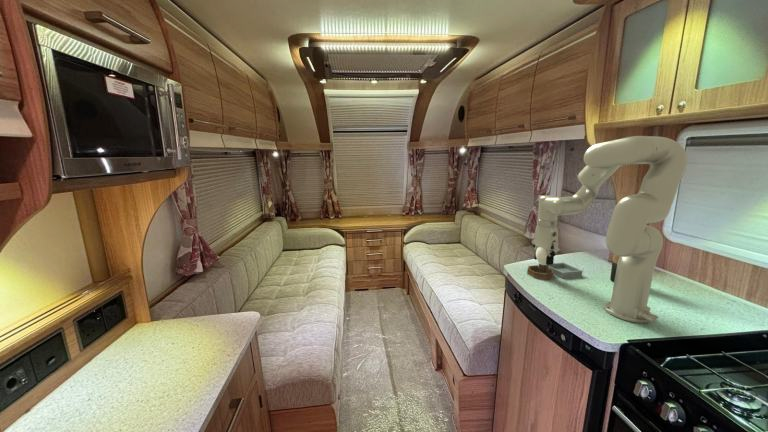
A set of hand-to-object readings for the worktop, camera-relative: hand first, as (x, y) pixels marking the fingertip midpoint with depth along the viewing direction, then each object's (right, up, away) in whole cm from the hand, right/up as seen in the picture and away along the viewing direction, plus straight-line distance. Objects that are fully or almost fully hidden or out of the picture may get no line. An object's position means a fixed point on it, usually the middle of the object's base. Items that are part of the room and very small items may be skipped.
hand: (543, 261), depth 134 cm
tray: (+11, -6, +5) cm, 14 cm away
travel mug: (+31, -8, -5) cm, 32 cm away
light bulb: (0, -3, +1) cm, 4 cm away
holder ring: (0, -6, +2) cm, 7 cm away
